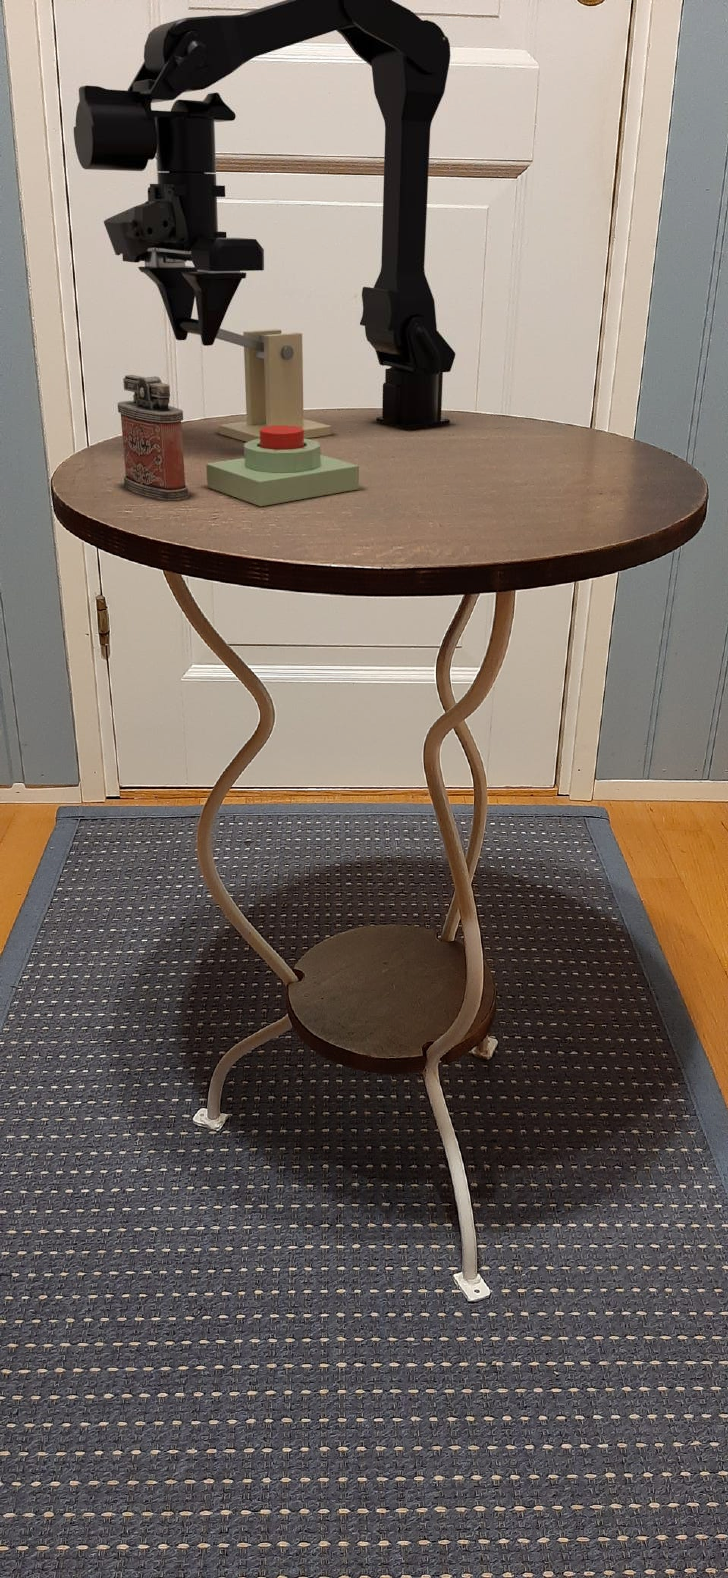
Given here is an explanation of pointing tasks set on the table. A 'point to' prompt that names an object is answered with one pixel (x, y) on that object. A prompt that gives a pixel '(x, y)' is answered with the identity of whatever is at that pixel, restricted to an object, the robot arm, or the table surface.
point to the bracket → (274, 388)
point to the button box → (281, 474)
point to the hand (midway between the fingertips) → (194, 342)
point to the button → (281, 437)
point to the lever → (225, 336)
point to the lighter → (152, 440)
